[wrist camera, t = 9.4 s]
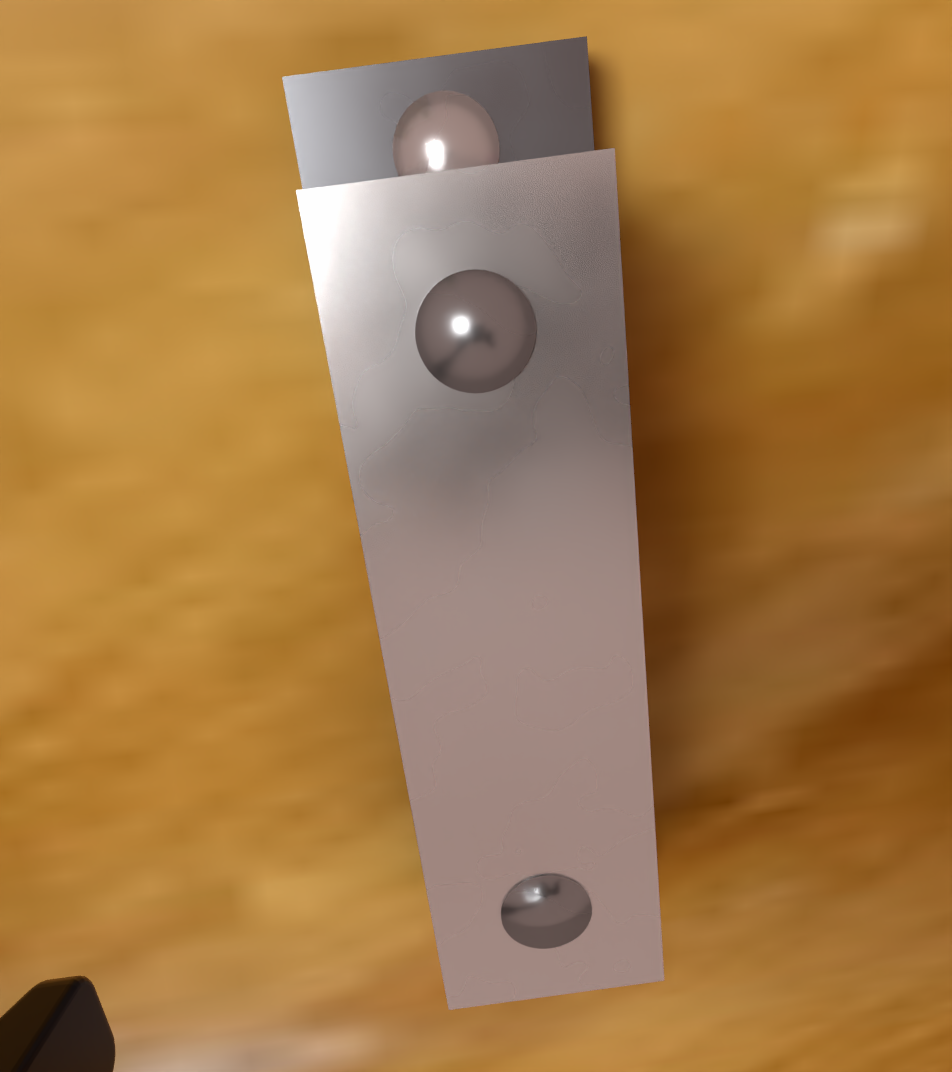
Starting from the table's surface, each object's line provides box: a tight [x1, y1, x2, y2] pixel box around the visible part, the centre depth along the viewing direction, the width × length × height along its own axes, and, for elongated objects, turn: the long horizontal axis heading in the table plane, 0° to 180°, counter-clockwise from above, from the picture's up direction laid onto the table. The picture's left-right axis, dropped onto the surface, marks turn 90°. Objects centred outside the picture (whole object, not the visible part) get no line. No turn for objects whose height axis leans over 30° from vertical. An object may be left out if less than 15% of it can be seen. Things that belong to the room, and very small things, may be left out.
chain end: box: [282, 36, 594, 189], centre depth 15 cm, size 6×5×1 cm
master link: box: [296, 148, 664, 1010], centre depth 14 cm, size 14×4×4 cm, turn 7°
